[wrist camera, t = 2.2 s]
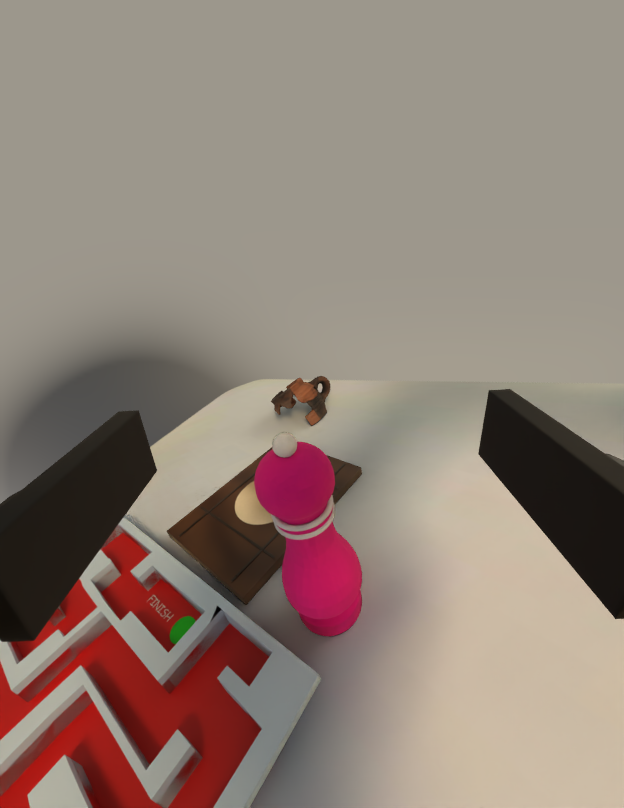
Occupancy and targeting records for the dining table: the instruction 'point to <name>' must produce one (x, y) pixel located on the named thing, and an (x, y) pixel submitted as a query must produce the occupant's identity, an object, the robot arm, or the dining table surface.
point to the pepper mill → (310, 535)
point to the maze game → (145, 692)
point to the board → (243, 531)
